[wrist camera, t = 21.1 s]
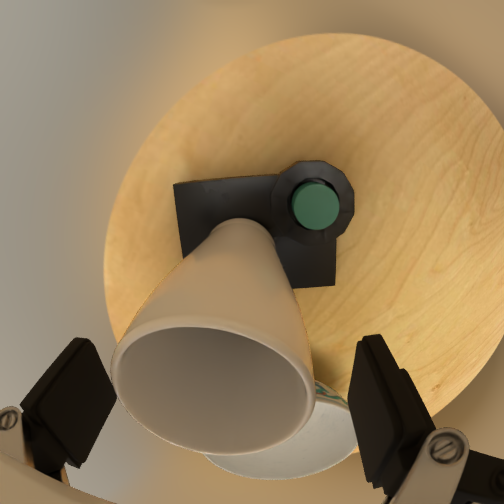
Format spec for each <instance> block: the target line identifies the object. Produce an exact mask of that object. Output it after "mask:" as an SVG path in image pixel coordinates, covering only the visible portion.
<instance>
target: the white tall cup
mask: <svg viewBox="0 0 504 504" xmlns="http://www.w3.org/2000/svg"><path fill="white" fill-rule="evenodd" d="M110 371H111V372H110V373H111V380H112V384H113V388H114V390H115V393H116V395H117V397H118V399H119V401H120V402H121V404H122V405H123V407H124V408H125V409H126V411H127V412H128V413H129V414H130V415H131V416H132V417H133V418H134V419H135V420H136V421H137V422H138V423H139V424H140V425H141V426H143V427H144V428H145V429H147V430H148V431H149V432H151V433H152V434H154V435H156V436H157V437H159V438H161V439H163V440H165V441H167V442H169V443H171V444H174V445H176V446H179V447H182V448H185V449H188V450H191V451H195V452H199V453H205V454H212V455H225V456H232V455H245V454H252V453H257V452H261V451H265V450H268V449H271V448H273V447H276V446H278V445H280V444H282V443H284V442H286V441H287V440H289V439H290V438H292V437H293V436H294V435H296V434H297V433H298V432H299V431H300V430H301V429H302V428H303V427H304V426H305V424H306V423H307V422H308V420H309V419H310V417H311V415H312V413H313V410H314V407H315V402H316V387H315V380H314V371H313V363H312V357H311V351H310V346H309V340H308V336H307V331H306V327H305V323H304V320H303V316H302V313H301V310H300V307H299V304H298V302H297V299H296V297H295V294H294V292H293V289H292V287H291V285H290V282H289V280H288V278H287V275H286V273H285V271H284V268H283V266H282V264H281V261H280V259H279V256H278V254H277V251H276V246H275V242H274V240H273V238H272V236H271V234H270V233H269V232H268V231H267V229H266V228H264V227H263V226H262V225H261V224H259V223H257V222H255V221H253V220H250V219H245V218H234V219H229V220H227V221H224V222H222V223H220V224H219V225H217V226H216V227H215V228H214V229H213V230H212V231H211V232H210V234H209V235H208V237H207V238H206V239H205V240H204V241H203V242H202V243H200V244H199V245H198V246H197V247H196V248H195V249H194V250H193V251H192V252H191V253H190V254H189V255H187V256H186V257H185V258H184V259H183V260H182V261H181V262H180V263H179V264H178V265H177V266H176V267H175V268H174V269H173V270H172V271H170V272H169V273H168V274H167V275H166V276H165V277H164V279H163V280H162V281H161V282H160V283H159V284H158V285H157V287H156V288H155V289H154V290H153V291H152V293H151V294H150V295H149V297H148V298H147V299H146V300H145V302H144V303H143V305H142V306H141V307H140V309H139V310H138V312H137V313H136V315H135V317H134V318H133V320H132V321H131V323H130V325H129V326H128V328H127V330H126V332H125V333H124V335H123V337H122V339H121V340H120V342H119V343H118V345H117V347H116V349H115V351H114V354H113V356H112V360H111V370H110Z"/></svg>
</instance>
